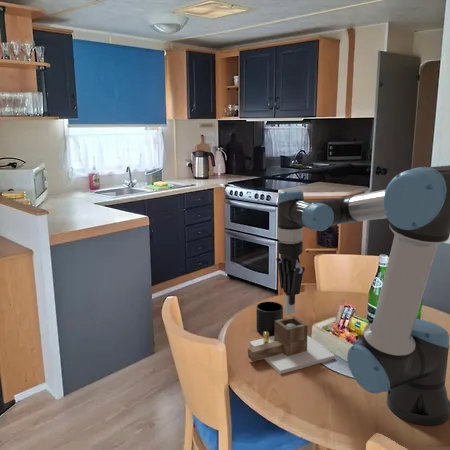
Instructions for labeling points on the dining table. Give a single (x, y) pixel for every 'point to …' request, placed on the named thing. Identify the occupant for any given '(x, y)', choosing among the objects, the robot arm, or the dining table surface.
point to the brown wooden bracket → (283, 340)
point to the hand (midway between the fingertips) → (289, 312)
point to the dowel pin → (265, 337)
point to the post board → (297, 356)
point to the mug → (268, 316)
